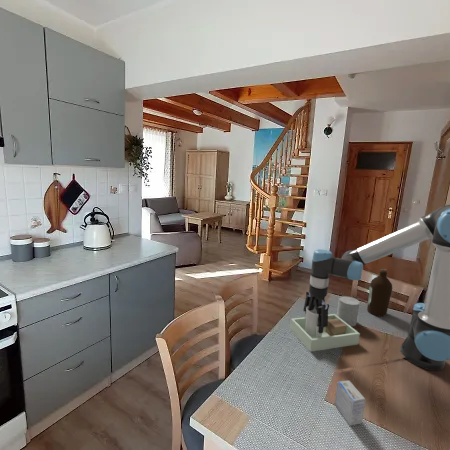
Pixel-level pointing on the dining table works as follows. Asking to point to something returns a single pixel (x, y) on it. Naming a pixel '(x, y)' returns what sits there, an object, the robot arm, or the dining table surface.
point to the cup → (311, 321)
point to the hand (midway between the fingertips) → (312, 333)
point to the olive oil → (379, 294)
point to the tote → (324, 335)
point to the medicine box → (349, 402)
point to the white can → (348, 309)
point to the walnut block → (335, 327)
